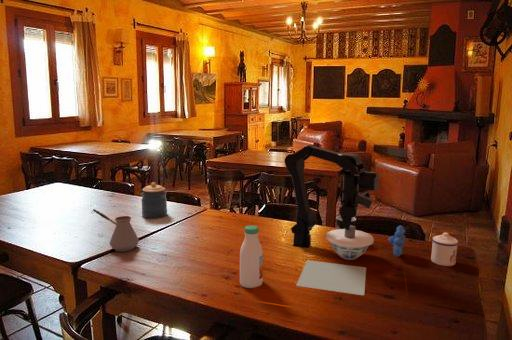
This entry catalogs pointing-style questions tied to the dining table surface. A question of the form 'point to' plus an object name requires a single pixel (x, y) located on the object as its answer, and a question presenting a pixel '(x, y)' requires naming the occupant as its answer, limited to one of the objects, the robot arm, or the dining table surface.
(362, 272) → the mat
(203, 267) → the dining table surface
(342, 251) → the chinaware
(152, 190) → the canister
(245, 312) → the dining table surface
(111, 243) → the coffee pot
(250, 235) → the milk bottle
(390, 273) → the dining table surface
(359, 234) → the lid
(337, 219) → the coffee mug
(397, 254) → the blue lumpy piece
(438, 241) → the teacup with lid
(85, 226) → the dining table surface
